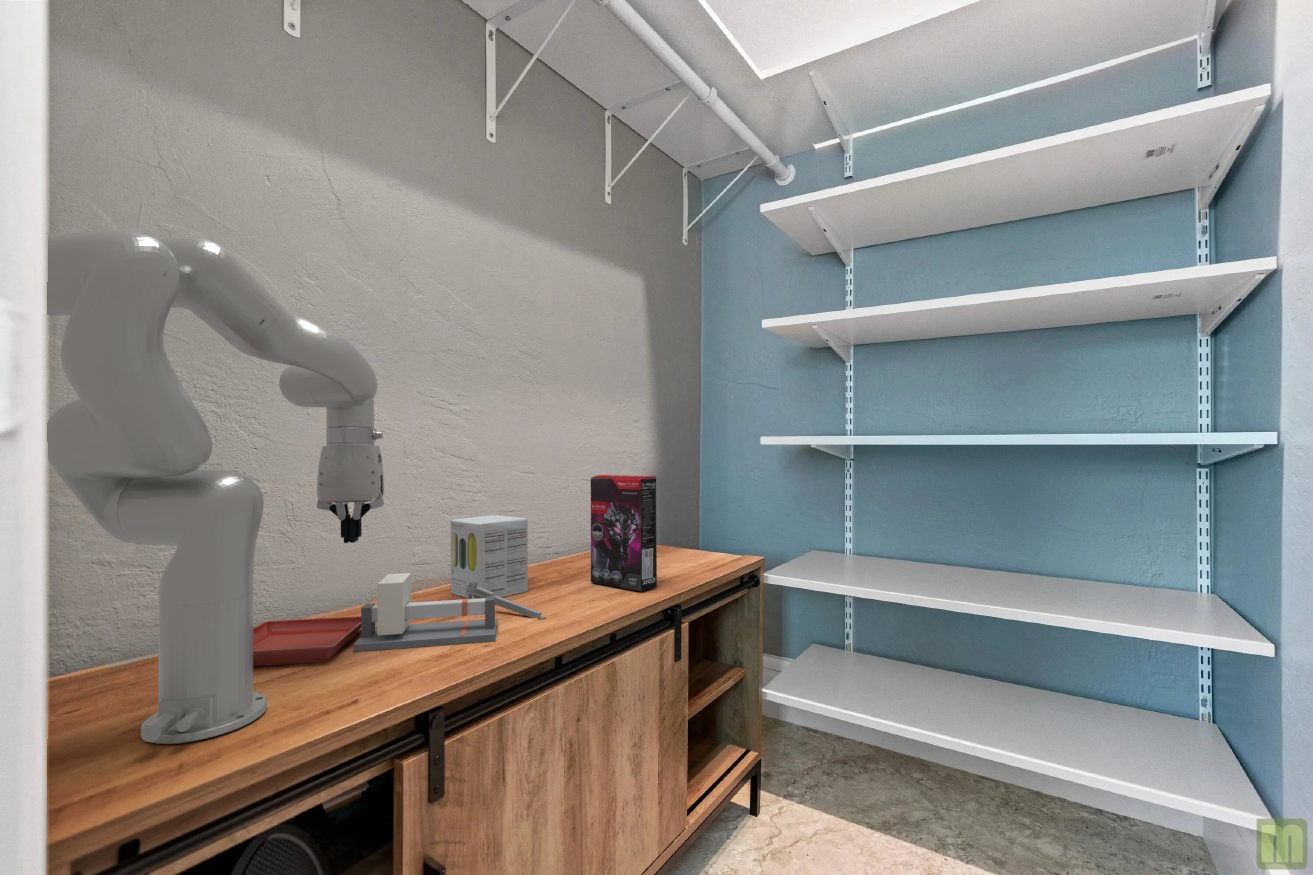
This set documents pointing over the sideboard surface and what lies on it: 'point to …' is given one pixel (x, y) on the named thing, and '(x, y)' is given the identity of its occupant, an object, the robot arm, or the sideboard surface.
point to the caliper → (500, 601)
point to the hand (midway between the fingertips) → (351, 541)
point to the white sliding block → (393, 603)
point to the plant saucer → (301, 639)
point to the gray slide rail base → (431, 625)
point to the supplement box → (490, 554)
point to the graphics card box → (624, 531)
